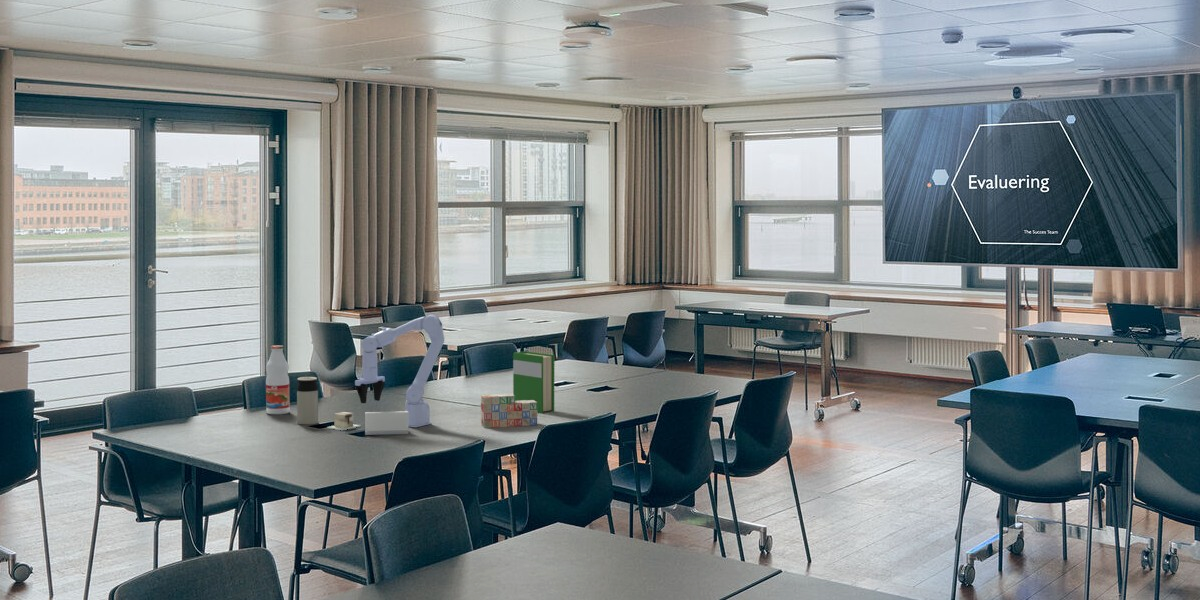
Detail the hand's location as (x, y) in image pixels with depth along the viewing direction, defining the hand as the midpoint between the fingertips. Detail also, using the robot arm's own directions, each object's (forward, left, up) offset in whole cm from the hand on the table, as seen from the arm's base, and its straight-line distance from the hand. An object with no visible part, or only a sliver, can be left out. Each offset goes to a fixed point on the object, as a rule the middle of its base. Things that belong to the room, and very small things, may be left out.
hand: (370, 401), depth 446 cm
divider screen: (+8, +16, -9) cm, 20 cm away
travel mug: (+10, -24, -10) cm, 28 cm away
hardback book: (-65, +32, -10) cm, 73 cm away
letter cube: (+9, -5, -9) cm, 14 cm away
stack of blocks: (-31, +44, -10) cm, 55 cm away
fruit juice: (0, -52, -10) cm, 53 cm away
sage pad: (+9, -6, -9) cm, 14 cm away
